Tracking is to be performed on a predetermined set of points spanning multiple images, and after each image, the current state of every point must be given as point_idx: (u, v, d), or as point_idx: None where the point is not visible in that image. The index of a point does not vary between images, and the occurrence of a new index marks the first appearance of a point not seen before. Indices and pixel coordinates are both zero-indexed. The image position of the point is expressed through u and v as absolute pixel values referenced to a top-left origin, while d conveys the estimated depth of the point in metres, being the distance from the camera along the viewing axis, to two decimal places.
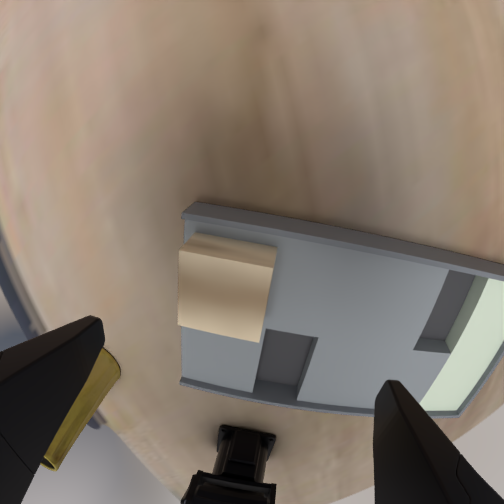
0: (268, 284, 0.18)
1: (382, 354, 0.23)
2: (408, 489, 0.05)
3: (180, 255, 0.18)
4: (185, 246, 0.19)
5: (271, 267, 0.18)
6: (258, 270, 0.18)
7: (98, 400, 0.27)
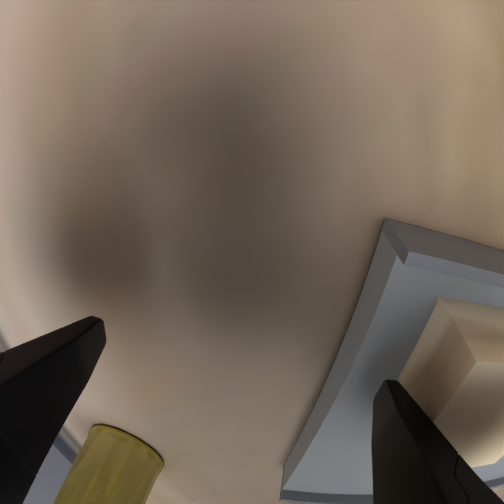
0: None
1: None
2: (406, 489, 0.05)
3: (473, 371, 0.06)
4: (472, 345, 0.06)
5: None
6: None
7: None
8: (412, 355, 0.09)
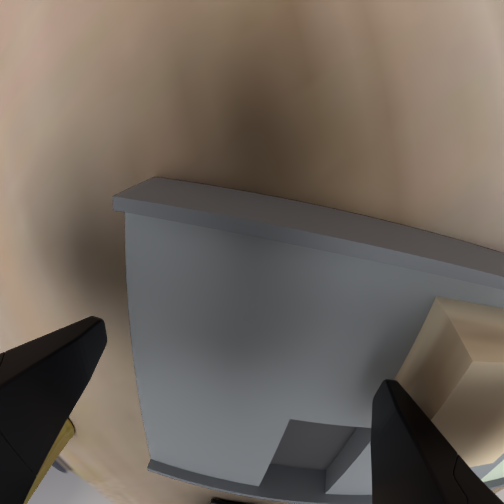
0: None
1: None
2: (405, 489, 0.05)
3: (469, 370, 0.06)
4: (469, 344, 0.06)
5: None
6: None
7: (44, 468, 0.15)
8: (409, 355, 0.09)
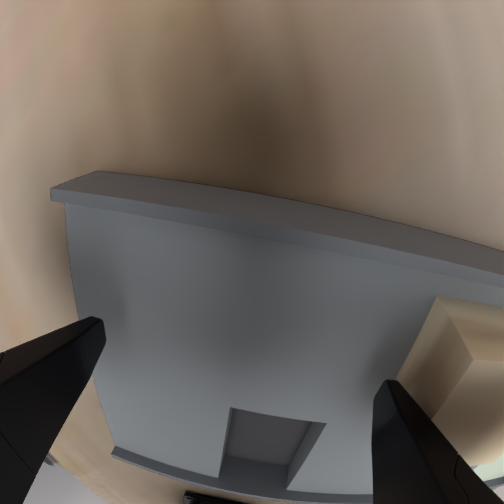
0: None
1: None
2: (406, 489, 0.05)
3: (470, 369, 0.06)
4: (469, 343, 0.06)
5: None
6: None
7: None
8: (410, 354, 0.09)
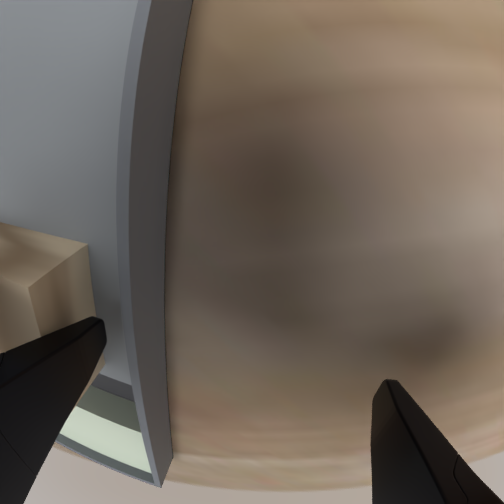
0: None
1: None
2: (405, 489, 0.05)
3: (21, 287, 0.07)
4: (43, 282, 0.07)
5: None
6: None
7: None
8: (39, 233, 0.10)
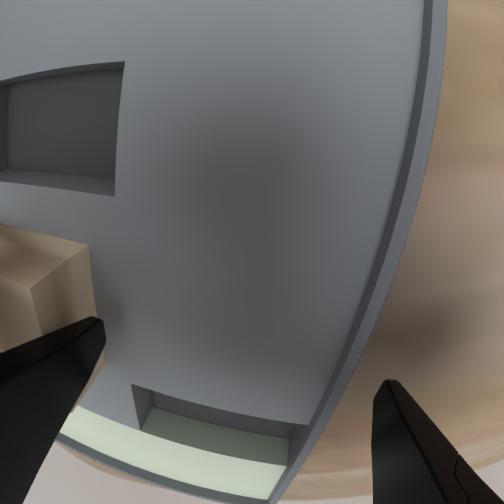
0: None
1: (106, 335, 0.11)
2: (406, 489, 0.05)
3: (23, 288, 0.07)
4: (45, 283, 0.07)
5: (71, 410, 0.09)
6: None
7: None
8: (40, 234, 0.10)
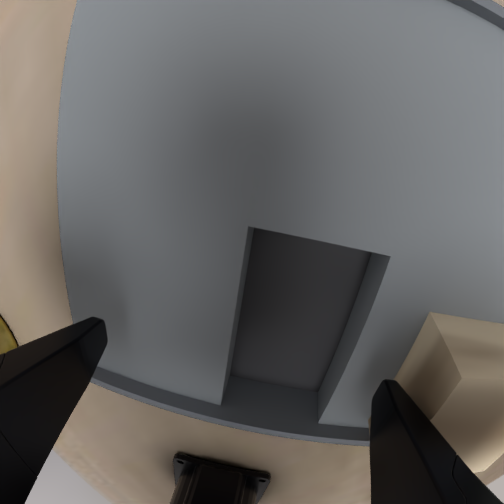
0: None
1: None
2: (404, 489, 0.05)
3: (458, 387, 0.06)
4: (459, 361, 0.07)
5: None
6: None
7: None
8: (402, 367, 0.10)
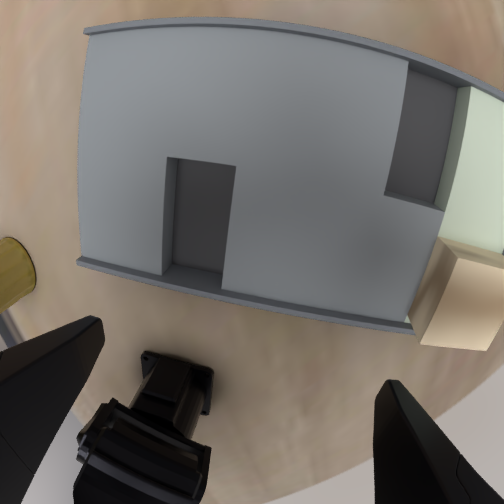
0: None
1: (336, 199, 0.16)
2: (408, 489, 0.05)
3: (457, 263, 0.14)
4: (455, 253, 0.14)
5: None
6: None
7: (1, 299, 0.21)
8: (425, 271, 0.17)
